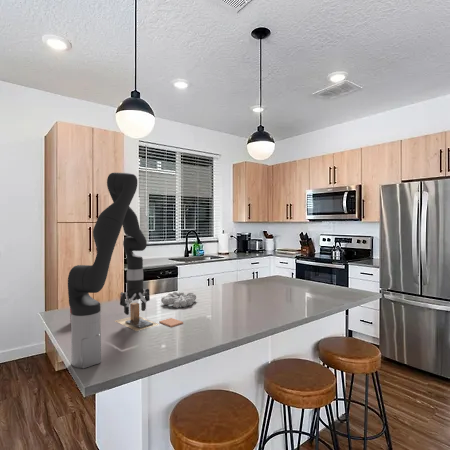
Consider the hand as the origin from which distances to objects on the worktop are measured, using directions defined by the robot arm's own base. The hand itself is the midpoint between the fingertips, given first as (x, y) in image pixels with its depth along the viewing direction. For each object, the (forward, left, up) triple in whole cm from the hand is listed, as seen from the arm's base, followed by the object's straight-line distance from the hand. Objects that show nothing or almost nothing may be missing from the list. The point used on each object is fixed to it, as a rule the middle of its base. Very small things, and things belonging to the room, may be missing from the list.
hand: (135, 312), depth 149 cm
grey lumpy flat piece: (+14, -37, -6) cm, 40 cm away
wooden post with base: (-3, 0, -5) cm, 6 cm away
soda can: (+21, +18, -6) cm, 28 cm away
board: (-1, 0, -5) cm, 5 cm away
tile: (-9, -11, -5) cm, 15 cm away
